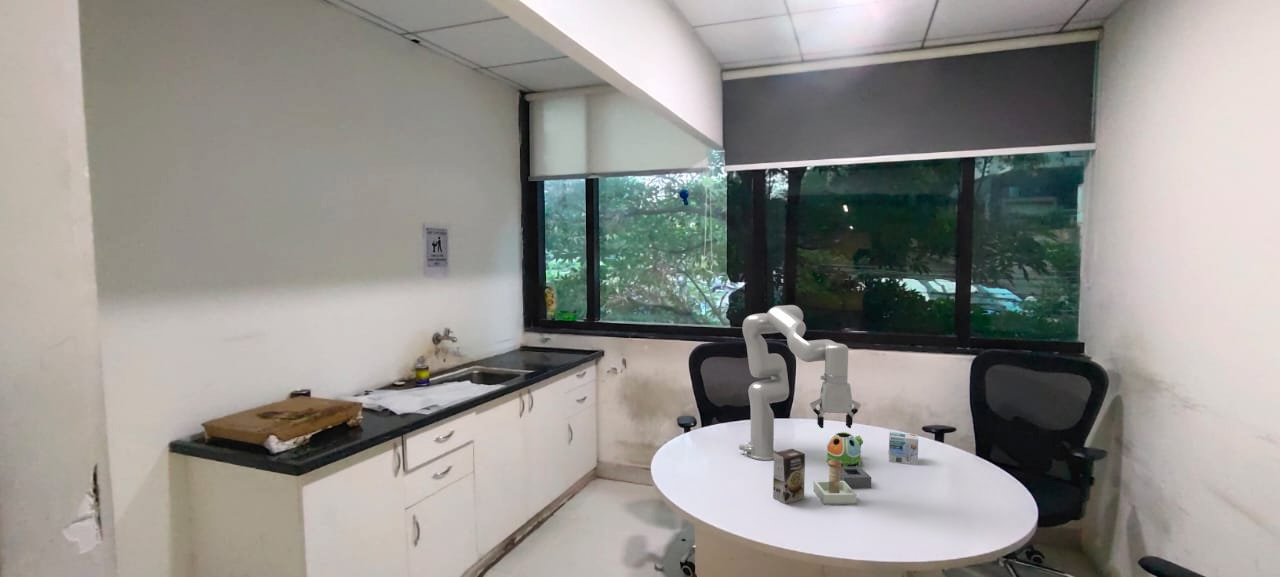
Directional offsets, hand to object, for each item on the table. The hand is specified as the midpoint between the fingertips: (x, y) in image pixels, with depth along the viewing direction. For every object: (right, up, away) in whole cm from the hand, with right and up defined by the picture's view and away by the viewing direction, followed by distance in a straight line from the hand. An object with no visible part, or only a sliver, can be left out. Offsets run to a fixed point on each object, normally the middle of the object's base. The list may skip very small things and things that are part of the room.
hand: (834, 427), depth 191 cm
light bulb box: (+39, -22, +32) cm, 55 cm away
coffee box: (-16, -25, -1) cm, 30 cm away
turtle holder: (+15, -22, +31) cm, 41 cm away
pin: (0, -24, -1) cm, 24 cm away
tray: (0, -25, -1) cm, 24 cm away
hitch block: (+11, -24, +12) cm, 28 cm away
